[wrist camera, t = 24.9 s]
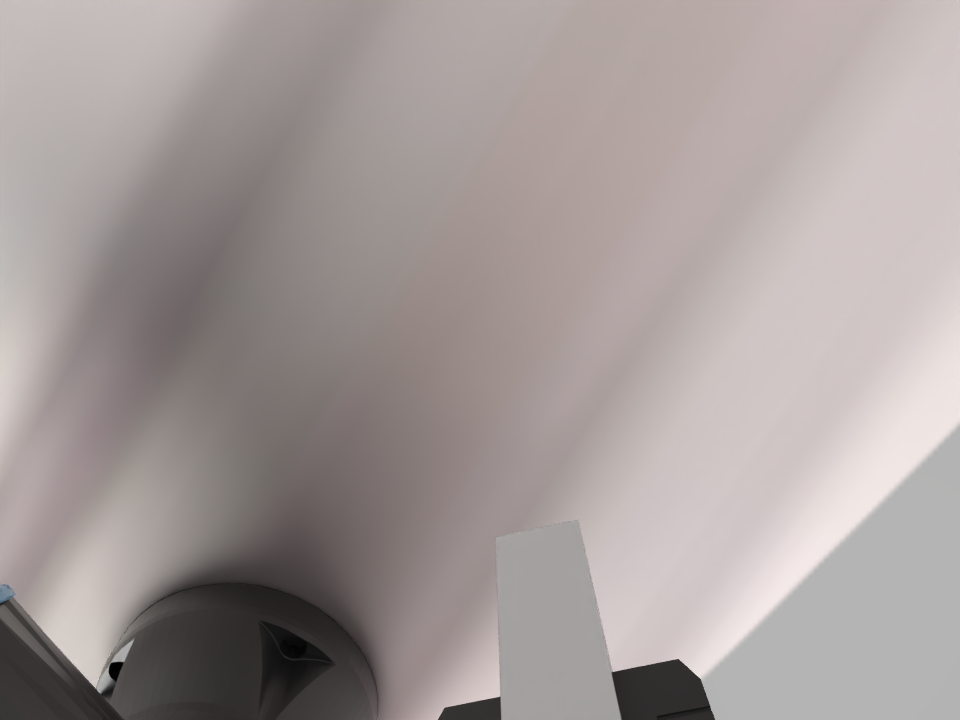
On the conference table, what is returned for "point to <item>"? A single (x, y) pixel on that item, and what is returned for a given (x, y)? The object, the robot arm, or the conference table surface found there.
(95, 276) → the conference table surface
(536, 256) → the conference table surface
